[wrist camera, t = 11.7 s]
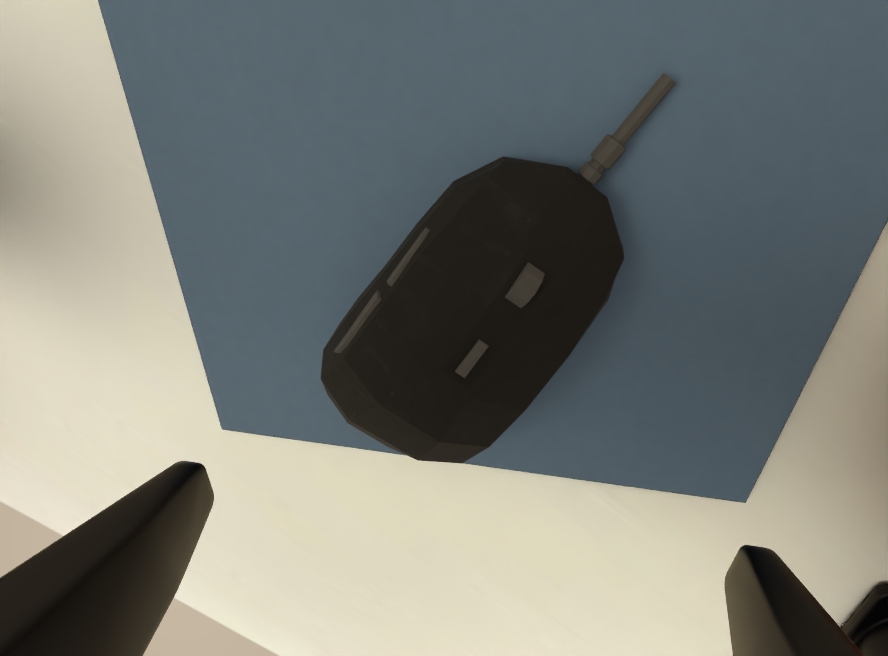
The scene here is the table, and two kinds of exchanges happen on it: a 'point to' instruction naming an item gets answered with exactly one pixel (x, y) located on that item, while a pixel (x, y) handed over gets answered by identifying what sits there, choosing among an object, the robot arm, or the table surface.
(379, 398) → the gaming mouse
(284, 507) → the table surface
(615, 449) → the mouse pad
